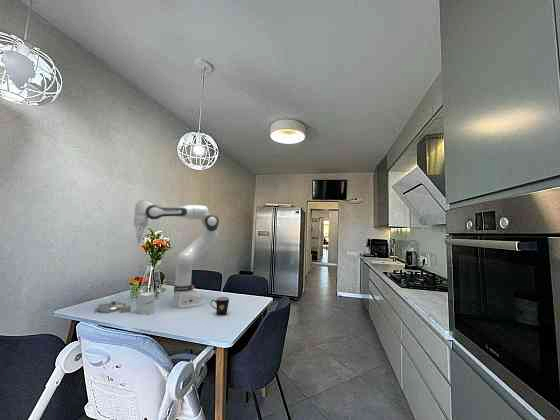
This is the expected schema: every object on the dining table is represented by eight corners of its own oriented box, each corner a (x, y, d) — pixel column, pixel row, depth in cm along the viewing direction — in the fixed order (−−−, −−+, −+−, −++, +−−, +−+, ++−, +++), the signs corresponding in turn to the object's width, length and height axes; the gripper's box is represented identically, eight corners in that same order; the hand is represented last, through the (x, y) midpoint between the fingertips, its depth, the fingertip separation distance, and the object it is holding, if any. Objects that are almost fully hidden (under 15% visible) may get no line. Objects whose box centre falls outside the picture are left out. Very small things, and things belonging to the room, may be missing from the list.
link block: (130, 312, 153) (131, 305, 153) (129, 314, 150) (130, 307, 150) (121, 313, 151) (122, 305, 151) (120, 315, 148) (121, 307, 148)
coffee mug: (230, 312, 160) (231, 297, 161) (223, 316, 152) (224, 301, 153) (216, 310, 164) (217, 295, 165) (208, 314, 156) (209, 298, 157)
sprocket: (127, 304, 164) (127, 297, 165) (121, 312, 149) (122, 304, 150) (100, 305, 159) (101, 298, 159) (92, 314, 143) (93, 306, 144)
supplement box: (143, 316, 147) (145, 295, 148) (135, 314, 150) (137, 294, 151) (153, 313, 154) (155, 293, 155) (145, 311, 156) (147, 291, 158)
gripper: (145, 223, 160) (144, 243, 159) (145, 223, 177) (144, 242, 176) (135, 223, 157) (133, 243, 155) (135, 223, 174) (134, 241, 173)
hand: (138, 242), depth 166 cm, fingers open, 8 cm apart
